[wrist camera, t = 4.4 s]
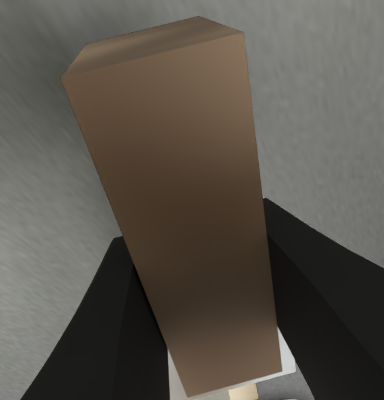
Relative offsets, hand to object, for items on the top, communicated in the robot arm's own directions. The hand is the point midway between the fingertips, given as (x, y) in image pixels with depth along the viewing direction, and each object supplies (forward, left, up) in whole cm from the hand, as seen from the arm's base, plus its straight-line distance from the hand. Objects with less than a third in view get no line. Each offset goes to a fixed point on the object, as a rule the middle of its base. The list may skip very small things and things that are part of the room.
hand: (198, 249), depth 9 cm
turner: (0, +2, -2) cm, 2 cm away
